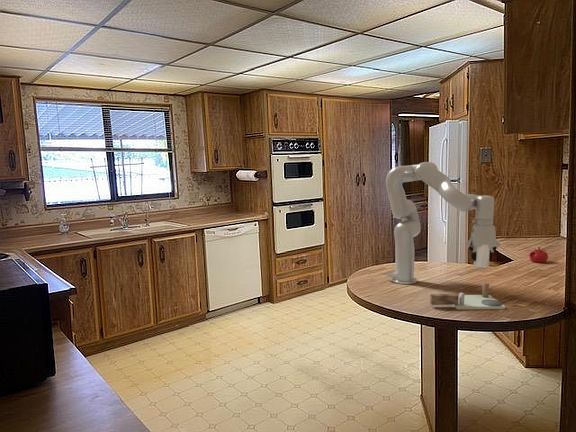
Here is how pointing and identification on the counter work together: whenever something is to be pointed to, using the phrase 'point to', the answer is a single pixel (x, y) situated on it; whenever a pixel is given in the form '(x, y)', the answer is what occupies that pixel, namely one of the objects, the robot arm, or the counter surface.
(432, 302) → the leg
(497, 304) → the board
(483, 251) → the can
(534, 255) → the pomegranate
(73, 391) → the counter surface
